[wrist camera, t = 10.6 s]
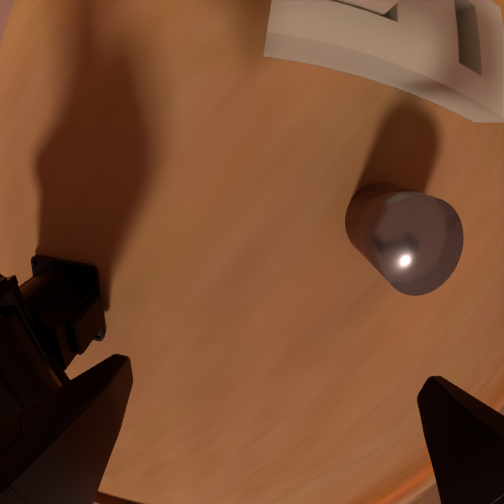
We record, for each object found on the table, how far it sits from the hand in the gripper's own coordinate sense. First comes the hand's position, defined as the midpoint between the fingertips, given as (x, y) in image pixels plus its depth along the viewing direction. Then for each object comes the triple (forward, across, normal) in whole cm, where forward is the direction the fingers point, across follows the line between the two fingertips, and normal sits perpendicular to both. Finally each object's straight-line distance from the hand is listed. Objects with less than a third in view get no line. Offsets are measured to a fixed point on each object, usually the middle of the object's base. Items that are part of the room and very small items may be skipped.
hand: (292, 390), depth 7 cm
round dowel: (+12, -7, -3) cm, 14 cm away
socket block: (+12, -6, -17) cm, 22 cm away
